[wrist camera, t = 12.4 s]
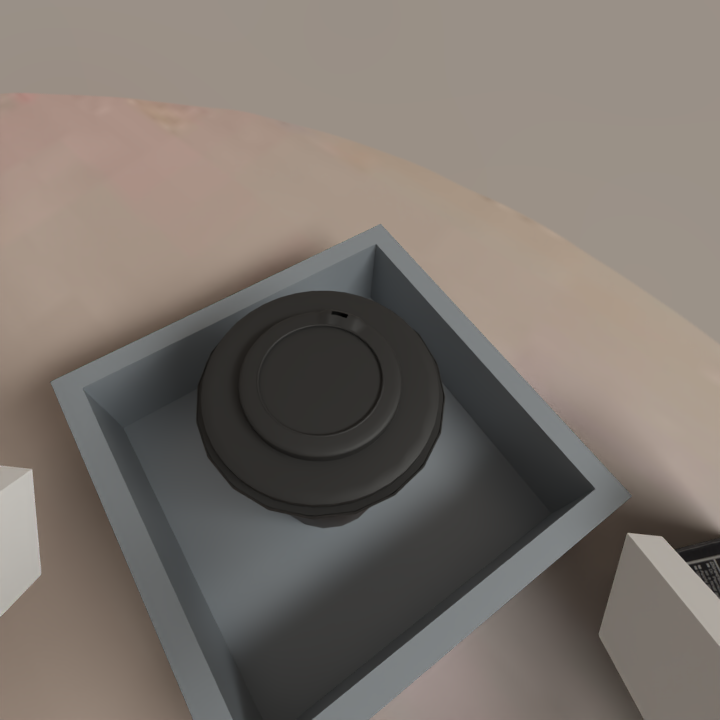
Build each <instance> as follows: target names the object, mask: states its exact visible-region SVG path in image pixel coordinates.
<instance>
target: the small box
mask: <svg viewBox="0 0 720 720" xmlns="http://www.w3.org/2000/svg"><path fill="white" fill-rule="evenodd" d="M675 551H676V552H677V553H678V554H679V555H680V556H681V558H682V559H683V560H684V561H685V562H686V563H687V564H688V565H689V566H690V567H691V568H692V570H693V571H694V572H695V573H696V574H697V575H698V576H699V577H700V578H701V579H702V580H703V582H704V583H705V584H706V585H707V586H708V587H709V588H710V589H711V590H712V591H713V592H714V594H715V595H716V596H717V597H718V598H719V599H720V538H717V539H714V540H710V541H706V542H701V543H698V544H694V545H690V546H686V547H683V548H679V549H675Z"/></svg>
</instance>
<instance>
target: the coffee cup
mask: <svg viewBox="0 0 720 720" xmlns="http://www.w3.org/2000/svg"><path fill="white" fill-rule="evenodd" d="M444 405H445V394H444V389H443V385H442V381H441V376H440V372H439V367H438V364H437V362H436V360H435V359H434V357H433V355H432V354H431V352H430V351H429V349H428V347H427V346H426V344H425V342H424V341H423V339H422V338H421V336H420V335H419V334H418V333H417V332H416V331H415V330H414V329H413V328H411V327H410V326H409V325H408V324H407V323H406V322H405V321H404V320H403V319H402V318H401V317H399V316H398V315H397V314H395V313H394V312H393V311H391V310H390V309H388V308H386V307H384V306H383V305H381V304H379V303H377V302H375V301H372V300H370V299H367V298H364V297H362V296H358V295H354V294H350V293H346V292H337V291H307V292H300V293H294V294H291V295H287V296H283V297H280V298H277V299H275V300H273V301H270V302H268V303H265V304H263V305H262V306H260V307H258V308H256V309H255V310H253V311H251V312H250V313H248V314H247V315H246V316H244V317H243V318H242V319H241V320H239V321H238V322H237V323H236V324H235V325H233V327H232V328H231V329H230V330H229V331H228V332H227V333H226V334H225V335H224V337H223V338H222V340H221V341H220V342H219V343H218V345H217V346H216V347H215V348H214V349H213V351H212V352H211V353H210V356H209V358H208V360H207V362H206V365H205V368H204V371H203V373H202V376H201V378H200V381H199V383H198V386H197V408H196V424H197V427H198V430H199V433H200V436H201V439H202V442H203V445H204V448H205V451H206V454H207V457H208V459H209V460H210V461H211V462H212V464H213V465H214V466H215V467H216V469H217V470H218V471H219V472H220V474H221V475H222V476H223V477H224V479H225V480H226V481H227V482H228V484H229V485H230V486H231V487H232V489H234V490H236V491H237V492H239V493H241V494H242V495H244V496H246V497H247V498H249V499H251V500H252V501H254V502H256V503H257V504H259V505H261V506H262V507H264V508H266V509H267V510H270V511H275V512H279V513H284V514H289V515H291V516H292V517H294V518H296V519H297V520H299V521H301V522H302V523H304V524H306V525H310V526H315V527H320V528H330V527H339V526H343V525H345V524H347V523H349V522H352V521H354V520H356V519H358V518H359V517H360V516H361V515H362V514H363V513H364V512H365V511H367V510H368V509H369V508H370V507H372V506H374V505H376V504H378V503H380V502H382V501H384V500H387V499H389V498H391V497H393V496H395V495H396V494H397V493H398V492H399V491H400V490H401V489H402V488H403V487H404V486H405V485H406V484H407V483H408V482H409V481H410V480H411V479H412V478H414V477H415V476H416V475H417V474H418V473H419V472H420V471H421V470H422V469H423V468H424V466H425V464H426V462H427V460H428V458H429V456H430V454H431V452H432V450H433V448H434V446H435V444H436V442H437V440H438V438H439V437H440V435H441V430H442V422H443V413H444Z"/></svg>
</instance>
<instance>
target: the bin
mask: <svg viewBox="0 0 720 720" xmlns="http://www.w3.org/2000/svg"><path fill="white" fill-rule="evenodd" d="M307 291H337V292H346V293H350V294H354V295H358V296H362V297H364V298H367V299H370V300H372V301H375V302H377V303H379V304H381V305H383V306H384V307H386V308H388V309H390V310H391V311H393V312H394V313H395V314H397V315H398V316H399V317H401V318H402V319H403V320H404V321H405V322H406V323H407V324H408V325H409V326H410V327H411V328H413V329H414V330H415V331H416V332H417V333H418V334H419V335H420V336H421V338H422V339H423V341H424V342H425V344H426V346H427V347H428V349H429V351H430V352H431V354H432V355H433V357H434V359H435V360H436V362H437V364H438V367H439V372H440V376H441V381H442V385H443V389H444V394H445V405H444V413H443V422H442V430H441V435H440V437H439V438H438V440H437V442H436V444H435V446H434V448H433V450H432V452H431V454H430V456H429V458H428V460H427V462H426V464H425V466H424V468H423V469H422V470H421V471H420V472H419V473H418V474H417V475H416V476H415V477H414V478H412V479H411V480H410V481H409V482H408V483H407V484H406V485H405V486H404V487H403V488H402V489H401V490H400V491H399V492H398V493H397V494H396V495H395V496H393V497H391V498H389V499H387V500H384V501H382V502H380V503H378V504H376V505H374V506H372V507H370V508H369V509H368V510H367V511H365V512H364V513H363V514H362V515H361V516H360V517H359V518H358V519H356V520H354V521H352V522H349V523H347V524H345V525H343V526H339V527H330V528H320V527H315V526H310V525H306V524H304V523H302V522H301V521H299V520H297V519H296V518H294V517H292V516H291V515H289V514H284V513H279V512H275V511H270V510H267V509H266V508H264V507H262V506H261V505H259V504H257V503H256V502H254V501H252V500H251V499H249V498H247V497H246V496H244V495H242V494H241V493H239V492H237V491H236V490H234V489H232V487H231V486H230V485H229V484H228V482H227V481H226V480H225V479H224V477H223V476H222V475H221V474H220V472H219V471H218V470H217V469H216V467H215V466H214V465H213V464H212V462H211V461H210V460H209V459H208V457H207V454H206V451H205V448H204V445H203V442H202V439H201V436H200V433H199V430H198V427H197V424H196V408H197V386H198V383H199V381H200V378H201V376H202V373H203V371H204V368H205V365H206V362H207V360H208V358H209V356H210V353H211V352H212V351H213V349H214V348H215V347H216V346H217V345H218V343H219V342H220V341H221V340H222V338H223V337H224V335H225V334H226V333H227V332H228V331H229V330H230V329H231V328H232V327H233V325H235V324H236V323H237V322H238V321H239V320H241V319H242V318H243V317H244V316H246V315H247V314H248V313H250V312H251V311H253V310H255V309H256V308H258V307H260V306H262V305H263V304H265V303H268V302H270V301H273V300H275V299H277V298H280V297H283V296H287V295H291V294H294V293H300V292H307ZM51 385H52V387H53V389H54V392H55V394H56V396H57V399H58V401H59V404H60V406H61V408H62V411H63V413H64V415H65V418H66V420H67V422H68V425H69V427H70V430H71V432H72V434H73V437H74V439H75V441H76V444H77V446H78V448H79V451H80V453H81V456H82V458H83V460H84V463H85V465H86V467H87V470H88V472H89V474H90V477H91V479H92V482H93V484H94V486H95V489H96V491H97V493H98V496H99V498H100V500H101V503H102V505H103V508H104V510H105V512H106V515H107V517H108V519H109V522H110V524H111V526H112V529H113V531H114V534H115V536H116V538H117V541H118V543H119V545H120V548H121V550H122V552H123V555H124V557H125V560H126V562H127V564H128V567H129V569H130V571H131V574H132V576H133V578H134V581H135V583H136V586H137V588H138V590H139V593H140V595H141V597H142V600H143V602H144V604H145V607H146V609H147V612H148V614H149V616H150V619H151V621H152V623H153V626H154V628H155V630H156V633H157V635H158V638H159V640H160V642H161V645H162V647H163V649H164V652H165V654H166V656H167V659H168V661H169V664H170V666H171V668H172V671H173V673H174V675H175V678H176V680H177V683H178V685H179V687H180V690H181V692H182V694H183V697H184V699H185V701H186V704H187V706H188V709H189V711H190V713H191V716H192V718H193V720H369V719H370V718H371V717H372V716H374V715H375V714H376V713H377V712H378V711H380V710H381V709H382V708H383V707H384V706H385V705H387V704H388V703H389V702H390V701H391V700H392V699H394V698H395V697H396V696H397V695H398V694H400V693H401V692H402V691H403V690H404V689H405V688H407V687H408V686H409V685H410V684H411V683H413V682H414V681H415V680H416V679H417V678H418V677H420V676H421V675H422V674H423V673H424V672H425V671H427V670H428V669H429V668H430V667H431V666H433V665H434V664H435V663H436V662H437V661H438V660H440V659H441V658H442V657H443V656H444V655H445V654H447V653H448V652H449V651H450V650H451V649H453V648H454V647H455V646H456V645H457V644H458V643H460V642H461V641H462V640H463V639H464V638H466V637H467V636H468V635H469V634H470V633H471V632H473V631H474V630H475V629H476V628H477V627H478V626H480V625H481V624H482V623H483V622H484V621H486V620H487V619H488V618H489V617H490V616H491V615H493V614H494V613H495V612H496V611H497V610H499V609H500V608H501V607H502V606H503V605H504V604H506V603H507V602H508V601H509V600H510V599H511V598H513V597H514V596H515V595H516V594H517V593H519V592H520V591H521V590H522V589H523V588H524V587H526V586H527V585H528V584H529V583H530V582H531V581H533V580H534V579H535V578H536V577H537V576H539V575H540V574H541V573H542V572H543V571H544V570H546V569H547V568H548V567H549V566H550V565H552V564H553V563H554V562H555V561H556V560H557V559H559V558H560V557H561V556H562V555H563V554H564V553H566V552H567V551H568V550H569V549H570V548H572V547H573V546H574V545H575V544H576V543H577V542H579V541H580V540H581V539H582V538H583V537H584V536H586V535H587V534H588V533H589V532H590V531H592V530H593V529H594V528H595V527H596V526H597V525H599V524H600V523H601V522H602V521H603V520H605V519H606V518H607V517H608V516H609V515H610V514H612V513H613V512H614V511H615V510H616V509H617V508H619V507H620V506H621V505H622V504H623V503H625V502H626V501H627V500H628V499H629V498H630V497H632V495H631V494H630V493H629V492H628V491H627V490H626V489H625V488H624V487H623V486H622V485H621V483H620V482H619V481H618V480H617V479H616V478H615V477H614V476H613V475H612V474H611V473H610V472H609V470H608V469H607V468H606V467H605V466H604V465H603V464H602V463H601V462H600V461H599V460H598V459H597V457H596V456H595V455H594V454H593V453H592V452H591V451H590V450H589V449H588V448H587V447H586V446H585V444H584V443H583V442H582V441H581V440H580V439H579V438H578V437H577V436H576V435H575V434H574V433H573V431H572V430H571V429H570V428H569V427H568V426H567V425H566V424H565V423H564V422H563V421H562V420H561V418H560V417H559V416H558V415H557V414H556V413H555V412H554V411H553V410H552V409H551V408H550V407H549V406H548V404H547V403H546V402H545V401H544V400H543V399H542V398H541V397H540V396H539V395H538V394H537V393H536V391H535V390H534V389H533V388H532V387H531V386H530V385H529V384H528V383H527V382H526V381H525V380H524V378H523V377H522V376H521V375H520V374H519V373H518V372H517V371H516V370H515V369H514V368H513V367H512V365H511V364H510V363H509V362H508V361H507V360H506V359H505V358H504V357H503V356H502V355H501V354H500V352H499V351H498V350H497V349H496V348H495V347H494V346H493V345H492V344H491V343H490V342H489V341H488V340H487V338H486V337H485V336H484V335H483V334H482V333H481V332H480V331H479V330H478V329H477V328H476V327H475V325H474V324H473V323H472V322H471V321H470V320H469V319H468V318H467V317H466V316H465V315H464V314H463V312H462V311H461V310H460V309H459V308H458V307H457V306H456V305H455V304H454V303H453V302H452V301H451V299H450V298H449V297H448V296H447V295H446V294H445V293H444V292H443V291H442V290H441V289H440V288H439V286H438V285H437V284H436V283H435V282H434V281H433V280H432V279H431V278H430V277H429V276H428V275H427V273H426V272H425V271H424V270H423V269H422V268H421V267H420V266H419V265H418V264H417V263H416V262H415V261H414V259H413V258H412V257H411V256H410V255H409V254H408V253H407V252H406V251H405V250H404V249H403V248H402V246H401V245H400V244H399V243H398V242H397V241H396V240H395V239H394V238H393V237H392V236H391V235H390V233H389V232H388V231H387V230H386V229H385V228H384V227H383V226H382V225H381V224H379V225H377V226H375V227H373V228H371V229H369V230H367V231H365V232H363V233H361V234H358V235H356V236H354V237H352V238H350V239H348V240H346V241H344V242H342V243H340V244H338V245H335V246H333V247H331V248H329V249H327V250H325V251H323V252H321V253H319V254H317V255H314V256H312V257H310V258H308V259H306V260H304V261H302V262H300V263H298V264H296V265H294V266H291V267H289V268H287V269H285V270H283V271H281V272H279V273H277V274H275V275H273V276H271V277H268V278H266V279H264V280H262V281H260V282H258V283H256V284H254V285H252V286H250V287H247V288H245V289H243V290H241V291H239V292H237V293H235V294H233V295H231V296H229V297H227V298H224V299H222V300H220V301H218V302H216V303H214V304H212V305H210V306H208V307H206V308H204V309H201V310H199V311H197V312H195V313H193V314H191V315H189V316H187V317H185V318H183V319H180V320H178V321H176V322H174V323H172V324H170V325H168V326H166V327H164V328H162V329H160V330H157V331H155V332H153V333H151V334H149V335H147V336H145V337H143V338H141V339H139V340H137V341H134V342H132V343H130V344H128V345H126V346H124V347H122V348H120V349H118V350H116V351H113V352H111V353H109V354H107V355H105V356H103V357H101V358H99V359H97V360H95V361H93V362H90V363H88V364H86V365H84V366H82V367H80V368H78V369H76V370H74V371H72V372H70V373H67V374H65V375H63V376H61V377H59V378H57V379H55V380H53V381H51Z"/></svg>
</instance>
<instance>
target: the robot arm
mask: <svg viewBox="0 0 720 720" xmlns="http://www.w3.org/2000/svg"><path fill="white" fill-rule="evenodd" d="M40 575H41V563H40V552H39V541H38V529H37V518H36V507H35V496H34V484H33V473H32V469H28V468H19V467H9V466H0V617H1V616H2V615H3V614H4V613H5V612H6V611H7V610H8V609H9V607H10V606H11V605H12V604H13V603H14V602H15V601H16V600H17V599H18V598H19V597H20V596H21V595H22V594H23V593H24V592H25V591H26V590H27V589H28V588H29V587H30V586H31V585H32V584H33V583H34V582H35V581H36V579H37V578H38V577H39V576H40ZM598 635H599V637H600V639H601V641H602V643H603V645H604V646H605V648H606V650H607V652H608V654H609V656H610V658H611V659H612V661H613V663H614V665H615V667H616V669H617V671H618V672H619V674H620V676H621V678H622V680H623V682H624V684H625V685H626V687H627V689H628V691H629V693H630V695H631V697H632V698H633V700H634V702H635V704H636V706H637V708H638V710H639V711H640V713H641V715H642V717H643V719H644V720H720V599H719V598H718V597H717V596H716V595H715V594H714V592H713V591H712V590H711V589H710V588H709V587H708V586H707V585H706V584H705V583H704V582H703V580H702V579H701V578H700V577H699V576H698V575H697V574H696V573H695V572H694V571H693V570H692V568H691V567H690V566H689V565H688V564H687V563H686V562H685V561H684V560H683V559H682V558H681V556H680V555H679V554H678V553H677V552H676V551H675V550H674V549H673V548H672V547H671V546H670V544H669V543H668V542H667V541H666V540H665V539H664V538H663V537H662V536H652V535H643V534H634V533H627V535H626V539H625V542H624V546H623V549H622V553H621V556H620V560H619V564H618V567H617V571H616V574H615V578H614V581H613V585H612V588H611V592H610V595H609V599H608V602H607V606H606V610H605V613H604V617H603V620H602V624H601V627H600V631H599V634H598Z"/></svg>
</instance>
